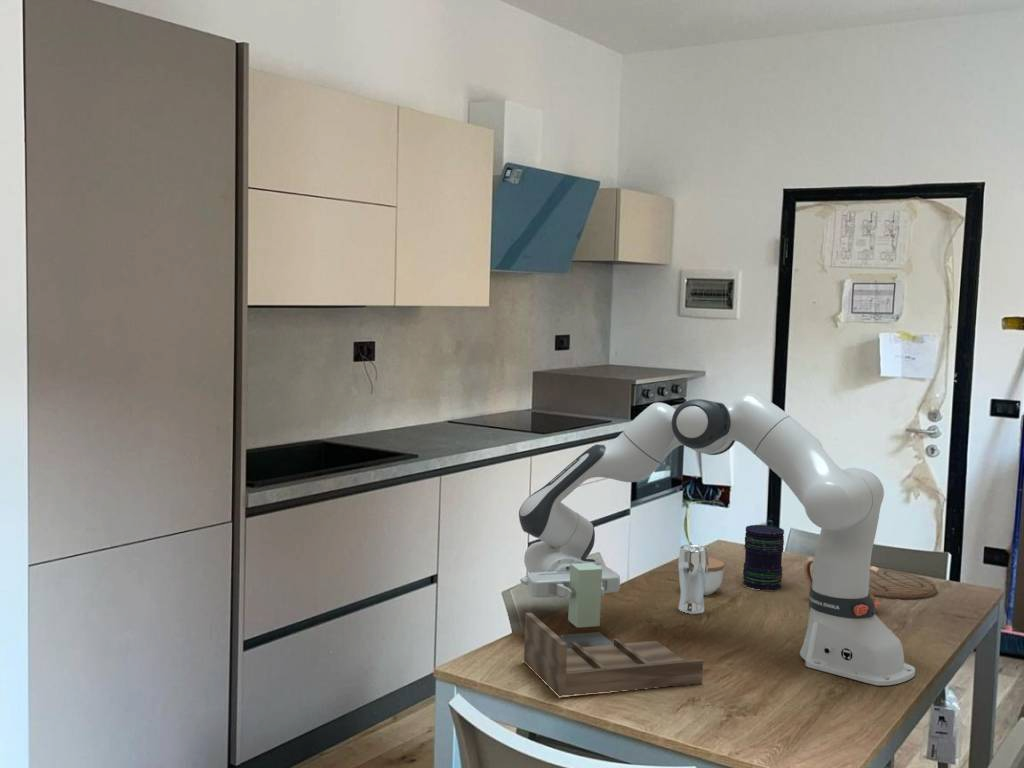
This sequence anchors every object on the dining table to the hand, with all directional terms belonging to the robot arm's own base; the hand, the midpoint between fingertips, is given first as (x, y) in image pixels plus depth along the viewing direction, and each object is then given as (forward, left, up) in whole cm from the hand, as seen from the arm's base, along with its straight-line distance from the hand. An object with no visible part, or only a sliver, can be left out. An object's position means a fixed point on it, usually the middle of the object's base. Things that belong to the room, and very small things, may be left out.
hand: (586, 593), depth 209 cm
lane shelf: (-14, +5, -12) cm, 19 cm away
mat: (+2, -1, -12) cm, 12 cm away
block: (+1, 0, -6) cm, 7 cm away
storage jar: (+9, -71, -12) cm, 73 cm away
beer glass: (+5, -39, -12) cm, 41 cm away
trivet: (-9, -99, -12) cm, 100 cm away
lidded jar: (+14, -53, -12) cm, 56 cm away
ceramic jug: (-13, -72, -12) cm, 74 cm away
